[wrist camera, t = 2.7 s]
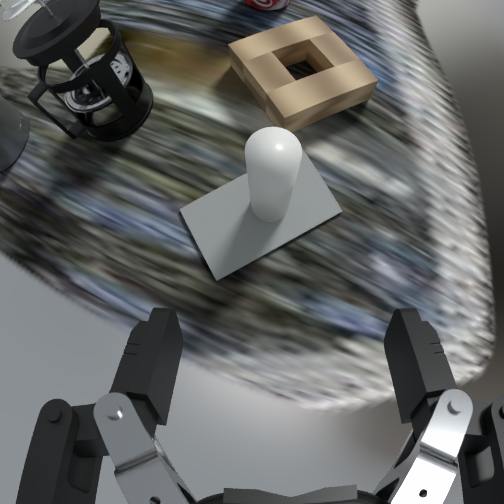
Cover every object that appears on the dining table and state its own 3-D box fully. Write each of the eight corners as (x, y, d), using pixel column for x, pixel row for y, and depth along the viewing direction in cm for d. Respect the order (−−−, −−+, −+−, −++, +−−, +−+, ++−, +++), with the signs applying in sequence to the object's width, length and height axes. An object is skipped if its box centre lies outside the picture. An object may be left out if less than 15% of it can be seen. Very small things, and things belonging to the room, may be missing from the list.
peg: (262, 229, 31) (262, 187, 19) (244, 197, 32) (234, 141, 20) (295, 211, 31) (312, 161, 20) (276, 181, 32) (283, 118, 20)
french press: (127, 66, 35) (56, -63, 13) (173, 94, 34) (106, -65, 12) (64, 130, 34) (-47, 26, 12) (103, 167, 33) (-30, 46, 11)
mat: (217, 280, 31) (216, 280, 31) (180, 210, 32) (179, 209, 32) (341, 212, 32) (342, 211, 31) (300, 147, 33) (300, 146, 32)
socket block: (282, 137, 33) (284, 118, 29) (231, 65, 35) (227, 44, 31) (368, 99, 33) (378, 80, 29) (312, 36, 35) (316, 15, 31)
